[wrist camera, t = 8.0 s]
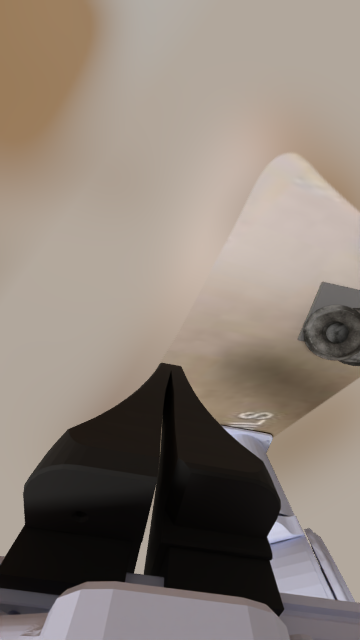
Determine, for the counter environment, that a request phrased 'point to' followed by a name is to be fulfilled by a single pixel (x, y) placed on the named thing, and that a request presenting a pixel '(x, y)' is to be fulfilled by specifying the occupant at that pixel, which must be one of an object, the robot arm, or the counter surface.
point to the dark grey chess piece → (334, 333)
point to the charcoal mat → (333, 299)
